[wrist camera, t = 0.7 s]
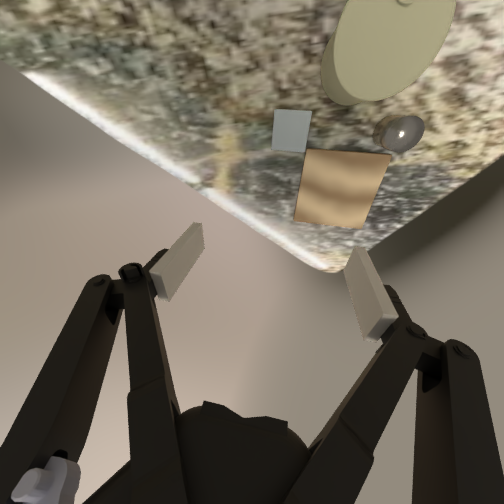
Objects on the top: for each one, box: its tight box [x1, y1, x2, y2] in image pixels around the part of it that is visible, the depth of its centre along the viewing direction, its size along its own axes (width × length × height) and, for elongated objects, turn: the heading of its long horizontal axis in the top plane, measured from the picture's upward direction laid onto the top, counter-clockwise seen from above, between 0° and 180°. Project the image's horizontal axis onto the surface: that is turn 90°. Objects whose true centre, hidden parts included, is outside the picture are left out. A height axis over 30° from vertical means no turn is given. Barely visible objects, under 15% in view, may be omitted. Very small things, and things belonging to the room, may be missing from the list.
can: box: [321, 0, 456, 105], centre depth 21 cm, size 9×9×12 cm
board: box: [294, 148, 392, 229], centre depth 35 cm, size 13×13×1 cm
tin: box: [373, 115, 424, 152], centre depth 27 cm, size 4×4×6 cm
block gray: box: [271, 109, 312, 152], centre depth 30 cm, size 5×5×5 cm
